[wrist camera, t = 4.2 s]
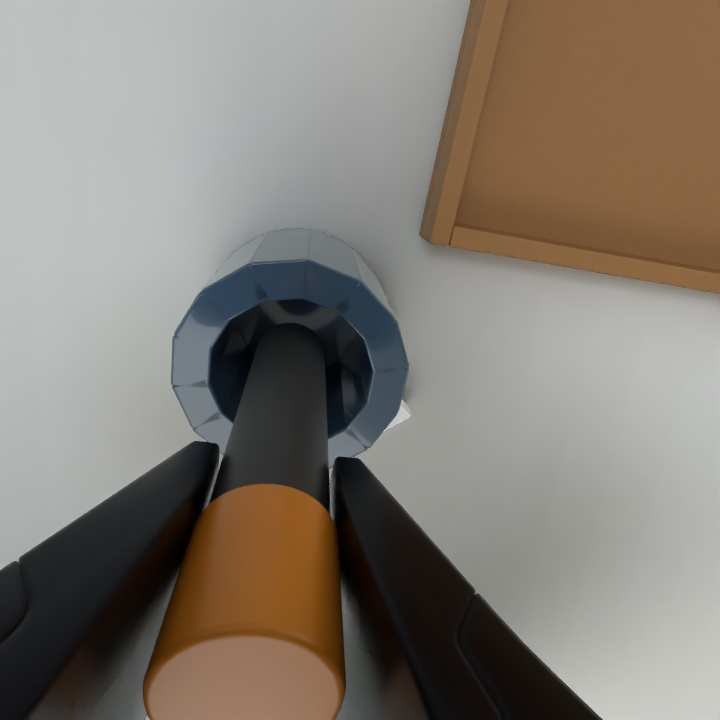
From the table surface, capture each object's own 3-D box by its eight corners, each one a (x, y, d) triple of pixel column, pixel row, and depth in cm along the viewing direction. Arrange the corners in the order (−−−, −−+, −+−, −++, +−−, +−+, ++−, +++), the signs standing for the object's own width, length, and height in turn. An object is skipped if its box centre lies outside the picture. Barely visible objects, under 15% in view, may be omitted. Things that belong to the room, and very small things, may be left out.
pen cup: (398, 242, 16) (431, 280, 11) (366, 399, 18) (382, 485, 13) (219, 211, 15) (175, 237, 10) (208, 379, 17) (167, 463, 12)
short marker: (334, 324, 13) (364, 636, 5) (322, 391, 14) (330, 765, 5) (256, 312, 13) (140, 624, 4) (249, 382, 13) (138, 761, 5)
